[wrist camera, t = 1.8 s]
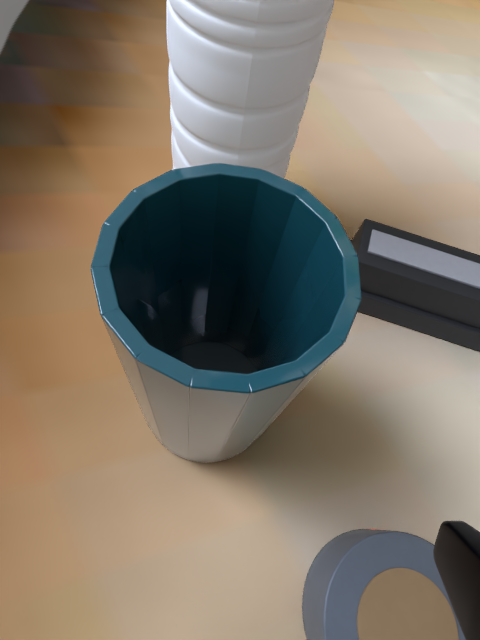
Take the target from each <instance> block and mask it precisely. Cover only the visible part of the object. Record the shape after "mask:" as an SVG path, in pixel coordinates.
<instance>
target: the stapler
mask: <svg viewBox="0 0 480 640" xmlns="http://www.w3.org/2000/svg"><path fill="white" fill-rule="evenodd" d="M350 241H351V243H352V245H353V247H354V249H355V251H356V253H357V255H358V258H359V271H360V283H361V296H362V299H361V304H360V306H359V309H358V311H359V312H362V313H365V314H368V315H371V316H374V317H377V318H380V319H383V320H386V321H389V322H392V323H395V324H398V325H401V326H404V327H407V328H411V329H414V330H417V331H420V332H423V333H426V334H429V335H432V336H435V337H438V338H441V339H444V340H447V341H450V342H453V343H456V344H459V345H462V346H465V347H468V348H471V349H474V350H477V351H480V255H477V254H474V253H471V252H468V251H465V250H461V249H458V248H455V247H452V246H449V245H446V244H443V243H440V242H437V241H433V240H430V239H427V238H424V237H421V236H418V235H415V234H412V233H409V232H406V231H402V230H399V229H396V228H393V227H390V226H387V225H384V224H381V223H378V222H375V221H371V220H368V219H365V220H364V222H363V223H362V225H361V227H360V228H359V230H358V232H357V233H356V235H355V237H354V238H353V240H350Z"/></svg>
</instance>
